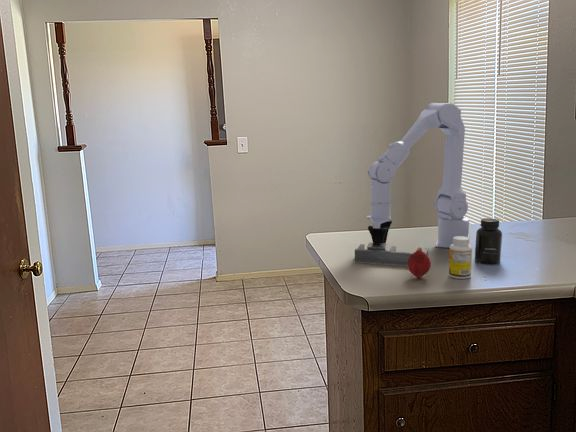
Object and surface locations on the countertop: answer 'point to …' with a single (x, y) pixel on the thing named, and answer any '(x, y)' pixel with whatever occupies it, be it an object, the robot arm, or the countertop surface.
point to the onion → (419, 263)
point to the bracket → (383, 256)
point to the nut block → (376, 246)
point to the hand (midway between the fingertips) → (380, 246)
